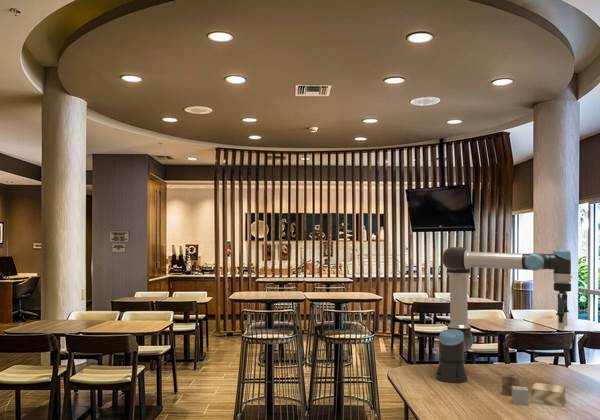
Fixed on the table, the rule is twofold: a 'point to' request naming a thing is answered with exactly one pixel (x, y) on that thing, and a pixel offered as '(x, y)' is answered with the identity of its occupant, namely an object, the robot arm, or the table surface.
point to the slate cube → (520, 395)
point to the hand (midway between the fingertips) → (562, 328)
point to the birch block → (548, 394)
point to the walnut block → (509, 383)
